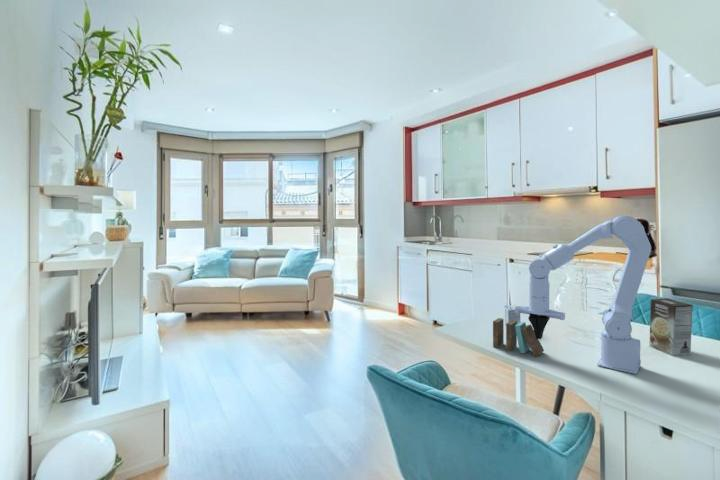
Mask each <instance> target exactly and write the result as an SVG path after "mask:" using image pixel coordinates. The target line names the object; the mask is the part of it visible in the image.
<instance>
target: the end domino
mask: <svg viewBox="0 0 720 480" xmlns="http://www.w3.org/2000/svg"><path fill="white" fill-rule="evenodd" d="M504 326H505V323H504V318H500V317H498V318H496V319H495V320H493V321H492V347H493V348H496V349H499V348H500V347H501V346H503V345H504V339H505V338H504V335H505V334H504Z"/></svg>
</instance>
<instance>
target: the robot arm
mask: <svg viewBox="0 0 720 480" xmlns="http://www.w3.org/2000/svg"><path fill="white" fill-rule="evenodd" d="M614 236H615V237H616V238H618V239H619V240H621V241H622V244H624V246H625V247H626V248H627V249H628V252H627V255H626V258H625V261H624V265H623V268H622V271H621V274H620V278H619V281H618V283H617V286H616V290H615V292H614V295H613V296H614V297H613V300H612V301H611V302H610V305H609V308H608V309H607V311H605V312H604V313H603V314H602V317H601V320H602V321H601V322H602V323H603V326H604V329H603V330H602V331H601V335H600V336H601V337H600V339H601V345H600V359H599V361H598V362H597V367H603V368H607V369H610V370H611V369H612V370H616V371H621V372H625V373H630V374H634V375H635V374H636V375H637V374H638V372H639V369H640V366H641V363H642V361H641V340H640V339H638V338H634V337H632V335H631V334H632V332H633V331H632V330H633V327H632V324H631V320H632V317H633V307H634V304H635V301H636V297H637V295H638V291H639V289H640V286H641V284H642V283H641V282H642V279H643V276H644V273H645V270H646V267H647V264H648V260H649V257H650V255H651V251H652V245H651V243H650V242H651V241H649V238H648V235H647V233H646V231H645V227H644V226H643V224H642V223H641V222H640V221H639V220H637V218H636V217H633V216H631V215H617V216H614V217H613V218H612V219H611V220H606V221H603V222H602V223H600V224H598V225H596V226H595V227H593V228H591V229H590V230H588V231H587V232H585V233H584V234H582V235H580V236H579V237H577V238H576V239H574V240H573V241H572V242H570V243H568V244H566V243H565V244H564V243H559V244H555V245H553V246H552V248H551V249H550V250H548V251H547V252H545V253H541V254H539V255H538V256H539V258H538V257H537V258H534V259H533V260H532V261H531V262H530V264H529V265H528V266H529V267H528V269H529V273H530V275H529V280H530V281H529V282H528V283H529V284H528V285H529V296H528V297H529V299H528V300H529V301H528V302H529V306H521V305H516V307H515V313H520V314H524V315H529V316H528V320H529V323H530V324H531V326H532V328H533V330H534V332H535V336H536V339H538V340H541V339H543V335H544V331H545V328H546V326H547V324H548V322H549V321H550V318H551V319H557V320H561V321H564V320H565V319H566V312H561V311H557V310H554V309H550V281H549V275H550V274H551V273H550V272H551V271H555V270H557V269H559V268H560V267H562V266H564V265H565V264H567V263H569V262H571V261H572V260H574V258H575V254H576V253H578V252H579V251H581V250H583V249H584V248H587V247H589V246H590V245H592V244H594V243H595V242H597V241H599V240H604V239H614Z"/></svg>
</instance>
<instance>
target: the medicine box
mask: <svg viewBox="0 0 720 480" xmlns="http://www.w3.org/2000/svg"><path fill="white" fill-rule="evenodd" d="M516 306H517V305H516V304H506V305H504V326H505V327H506V324H507V323H508V322H510V321H511V320H514V321H517V324H518V323H520V322H521V313H515V307H516Z"/></svg>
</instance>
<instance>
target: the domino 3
mask: <svg viewBox="0 0 720 480" xmlns="http://www.w3.org/2000/svg"><path fill="white" fill-rule="evenodd" d="M521 331H522V333H523V335H524V337H525V339H526V341H527V343H528V345H529V347H530V351H531V352H532V355H533V357H538V356H541V354H542V353H544V352H545V350H544V348H543V346H542V343H541V342H540V339H536V336H535V332H534V329H533V327H532V324H531V323H529V324H528V325H527V324H526V326H525V327H524V328H522V329H521Z"/></svg>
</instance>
